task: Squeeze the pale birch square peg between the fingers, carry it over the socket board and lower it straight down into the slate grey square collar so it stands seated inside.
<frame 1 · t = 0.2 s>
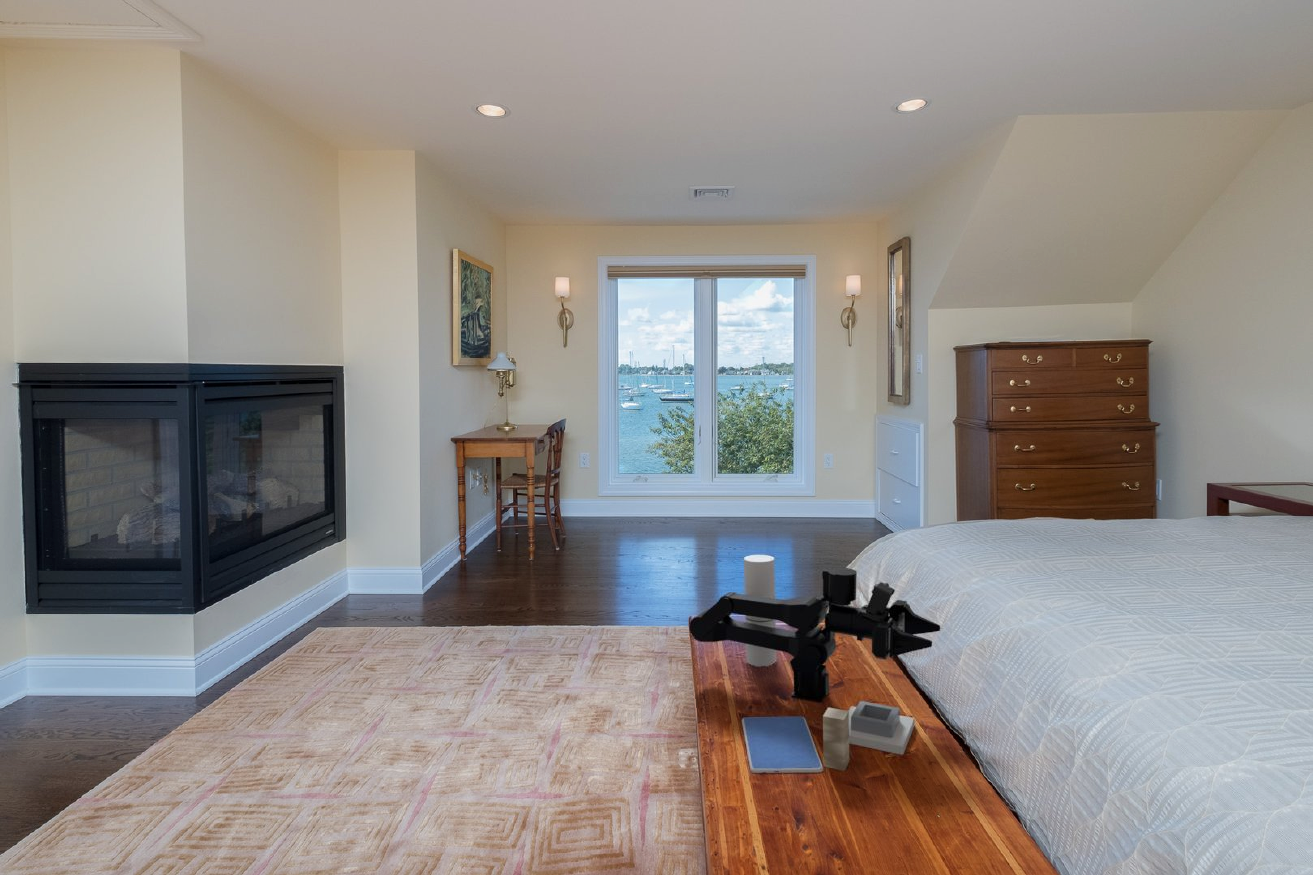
hand: (936, 635, 138), 17 cm above the table, tool horizontal, fingers open, 9 cm apart
cylindrical container: (761, 661, 171), on the table
peg: (836, 763, 124), on the table
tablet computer: (779, 748, 132), on the table
socket board: (875, 732, 135), on the table
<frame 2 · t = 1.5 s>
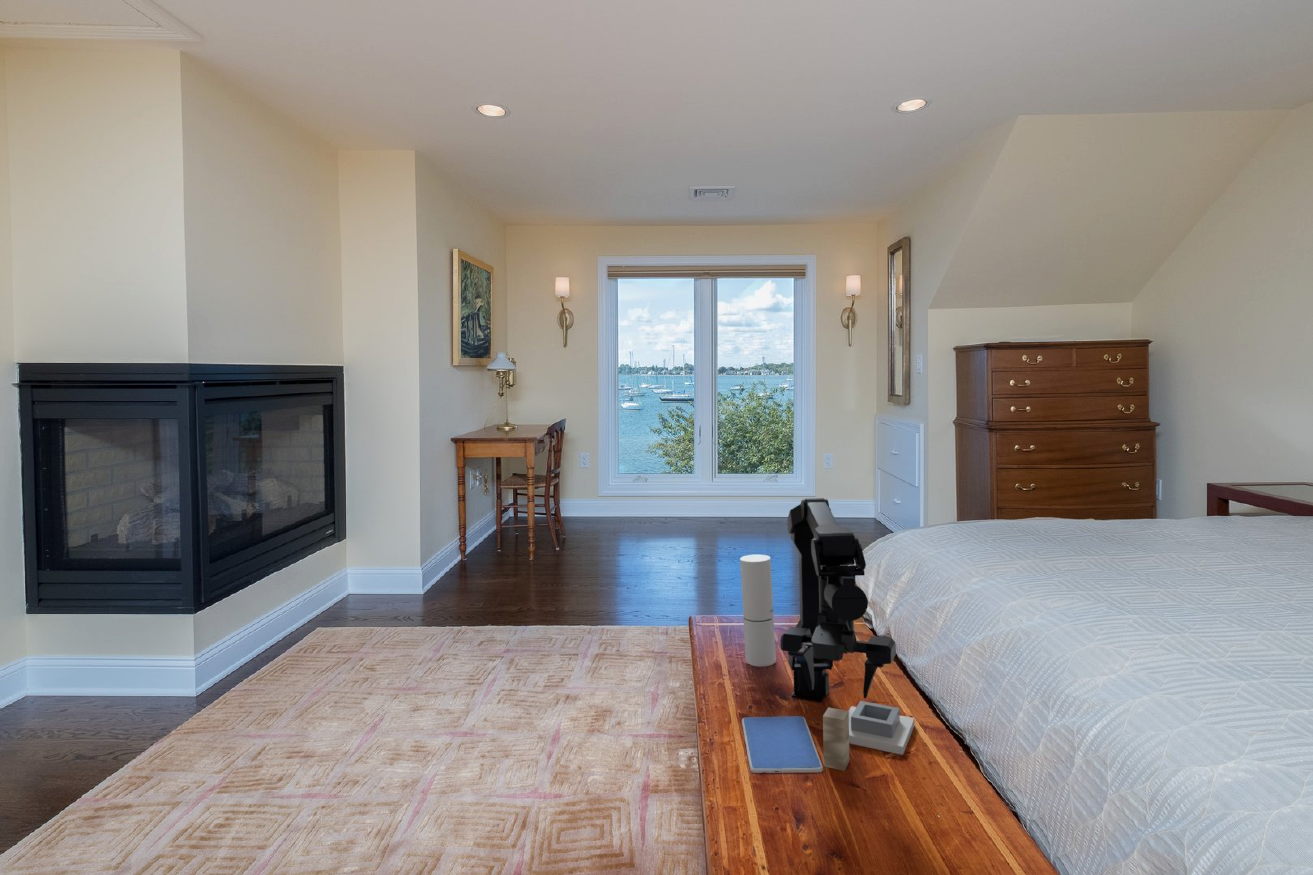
hand: (838, 693, 123), 13 cm above the table, tool pointing down, fingers open, 9 cm apart
nothing on the table moved.
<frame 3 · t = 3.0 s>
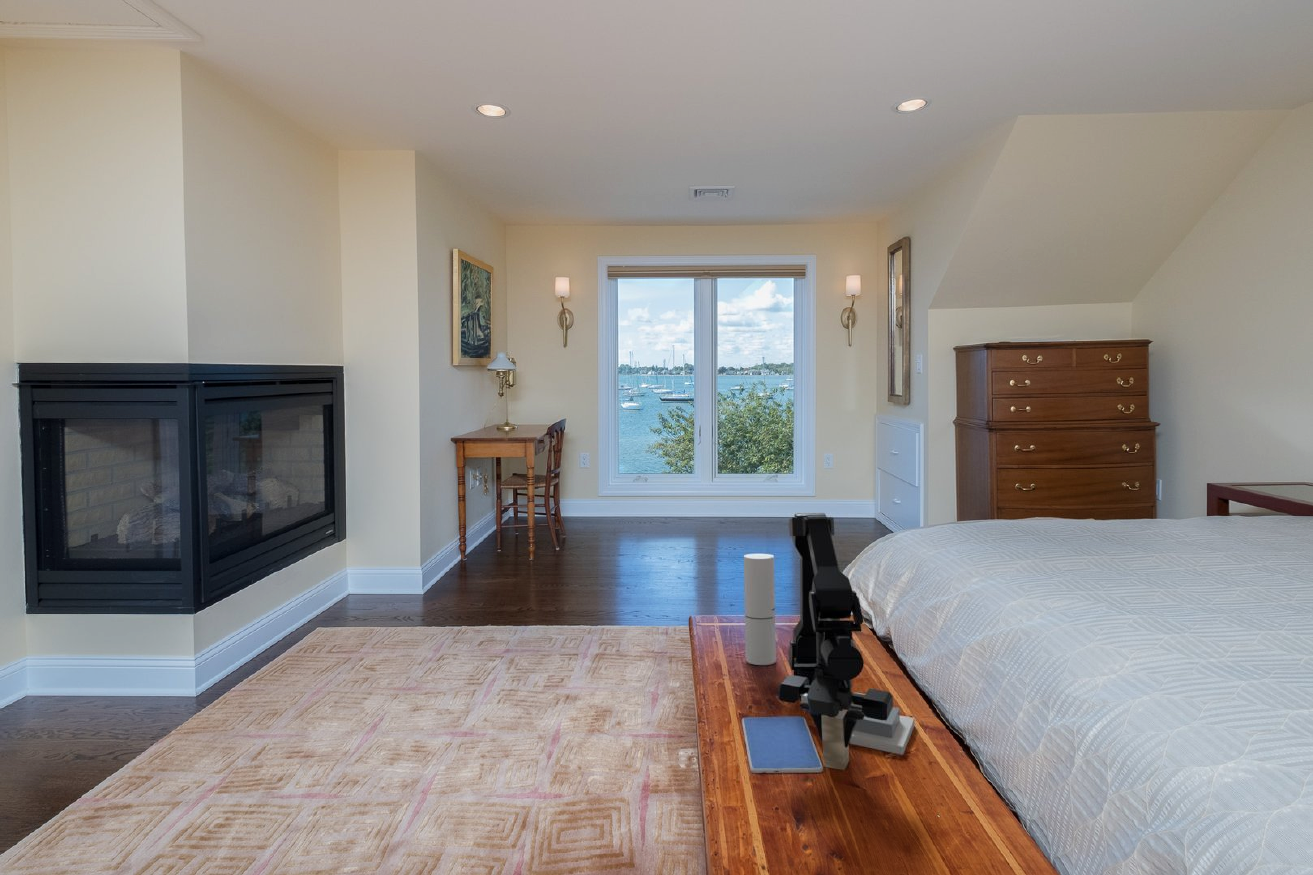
hand: (835, 743, 124), 4 cm above the table, tool pointing down, fingers closed on peg, 4 cm apart
peg: (836, 763, 124), on the table, touching gripper
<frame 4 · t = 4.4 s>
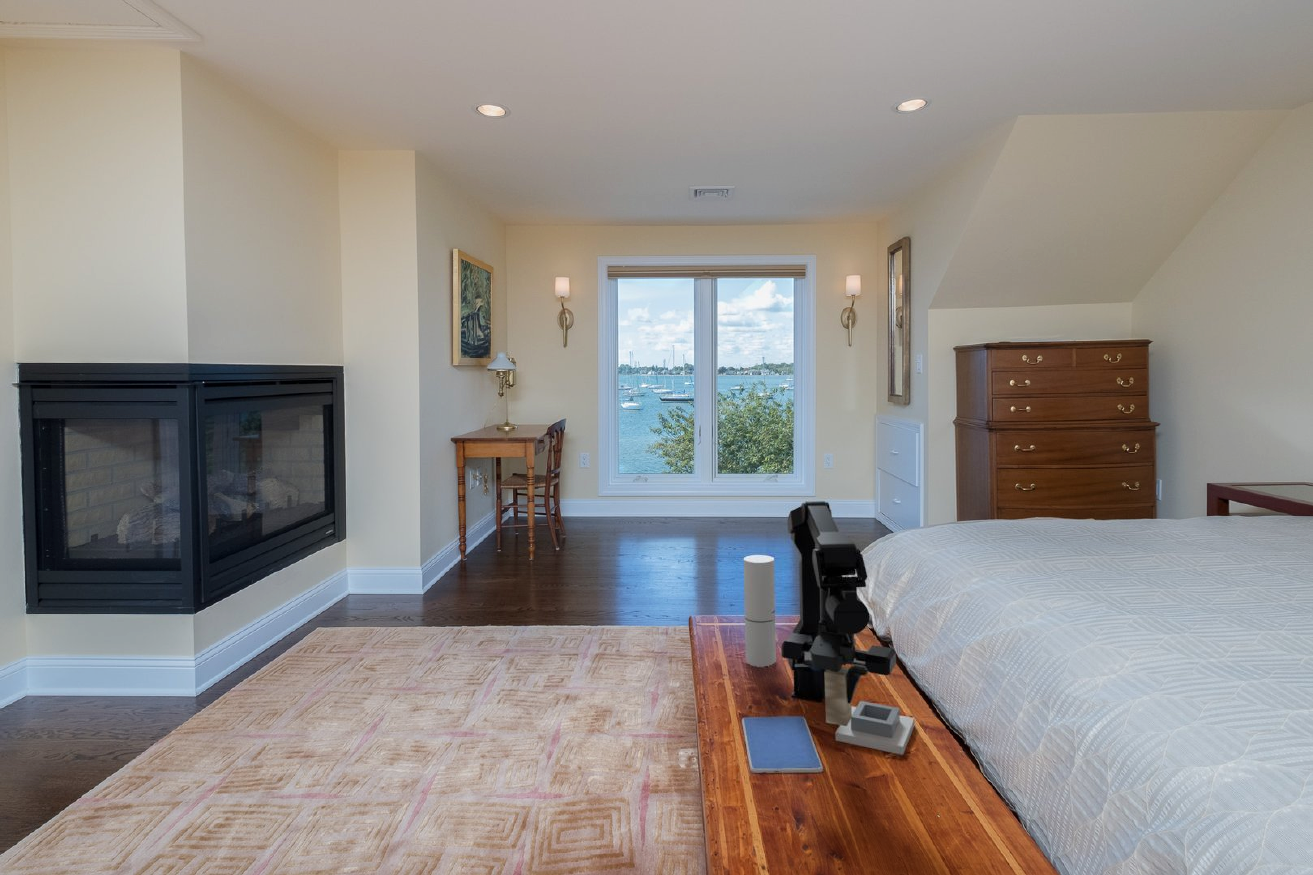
hand: (838, 700, 125), 11 cm above the table, tool pointing down, fingers closed on peg, 4 cm apart
peg: (838, 719, 125), point 7 cm above the table, touching gripper
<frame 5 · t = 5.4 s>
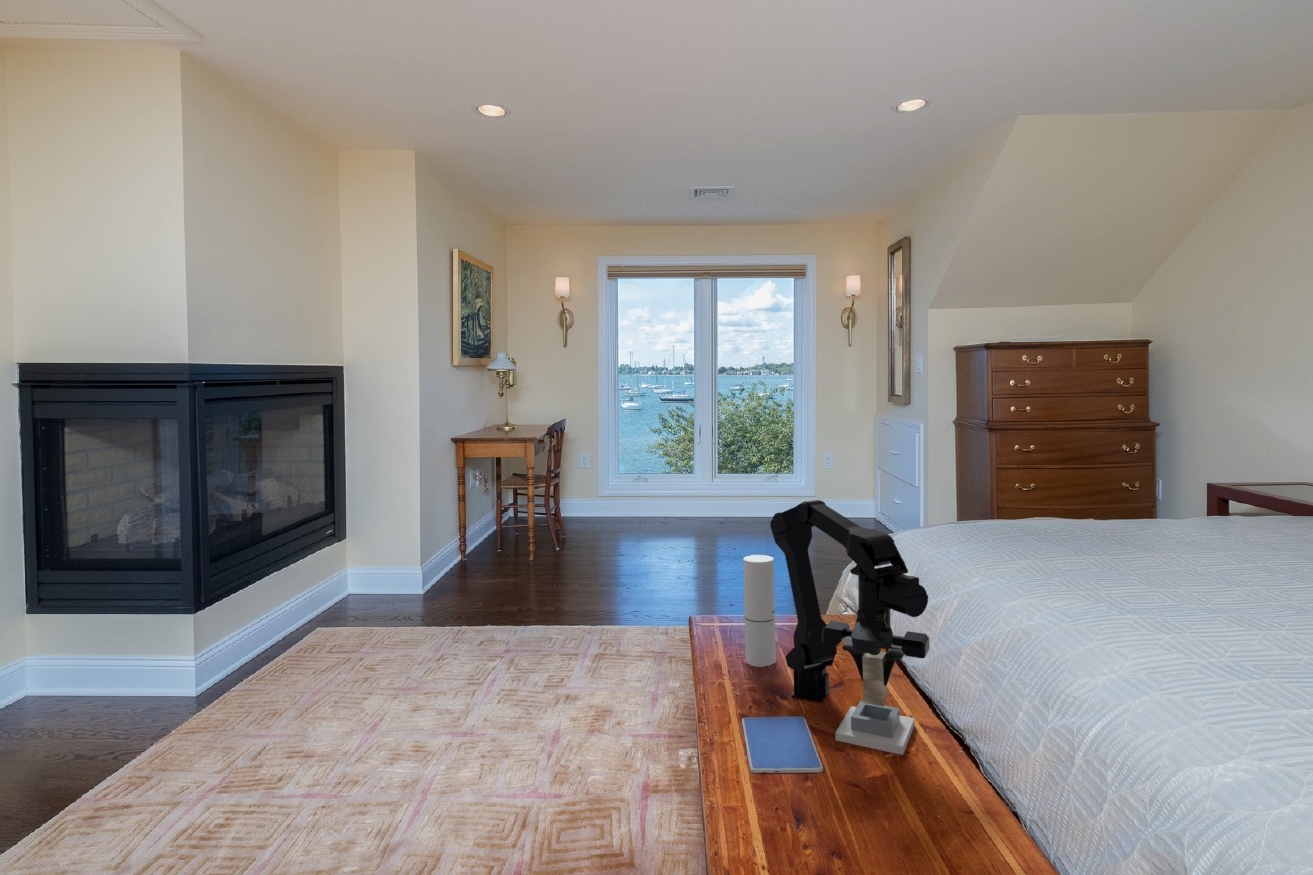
hand: (874, 682, 134), 10 cm above the table, tool pointing down, fingers closed on peg, 4 cm apart
peg: (875, 700, 134), point 6 cm above the table, touching gripper
everything else where it was.
when the fingers open (5 cm above the table, at t = 6.7 s): peg stays where it is, resting on socket board.
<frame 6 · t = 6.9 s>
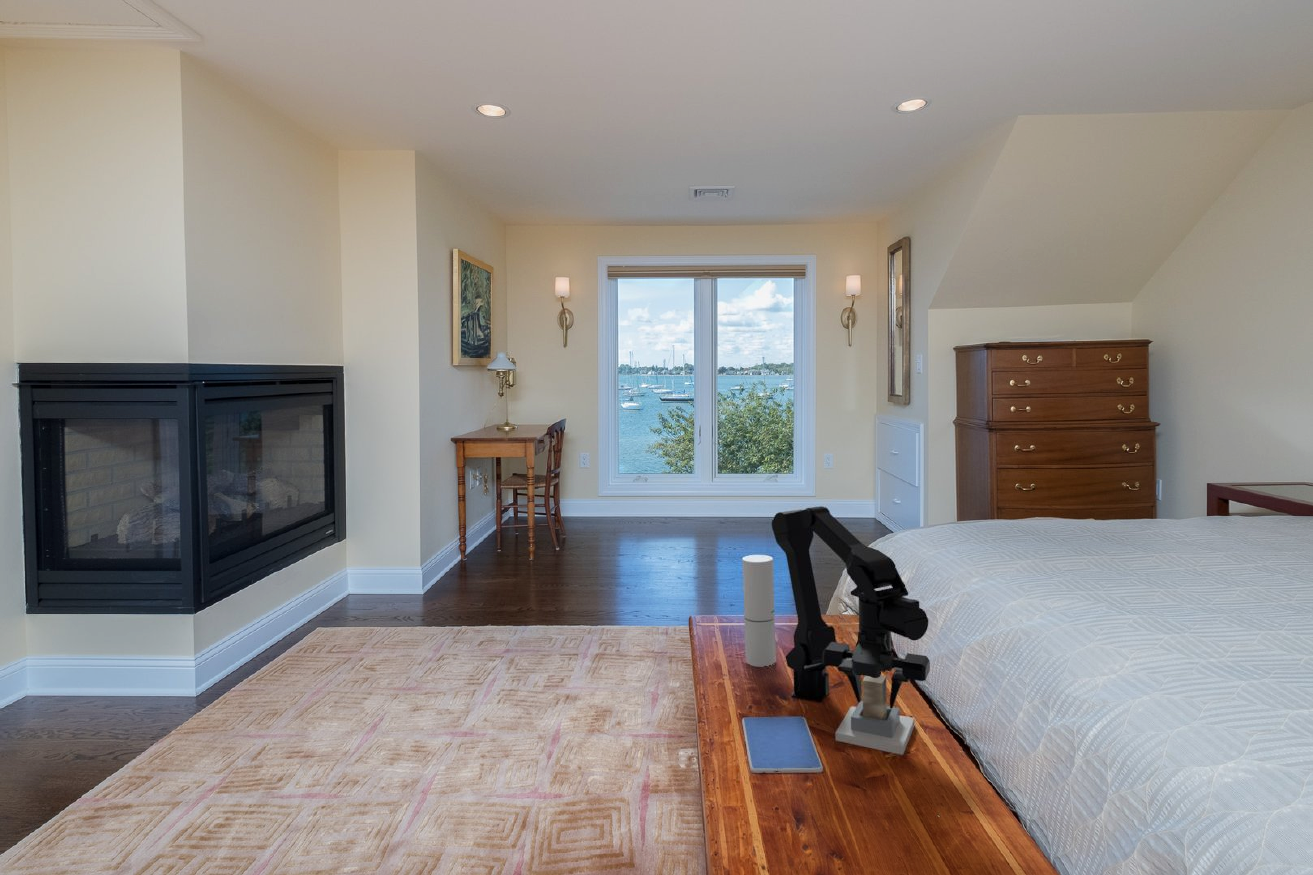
hand: (875, 704, 134), 5 cm above the table, tool pointing down, fingers open, 6 cm apart
peg: (875, 724, 135), point 2 cm above the table, touching socket board
everything else where it was.
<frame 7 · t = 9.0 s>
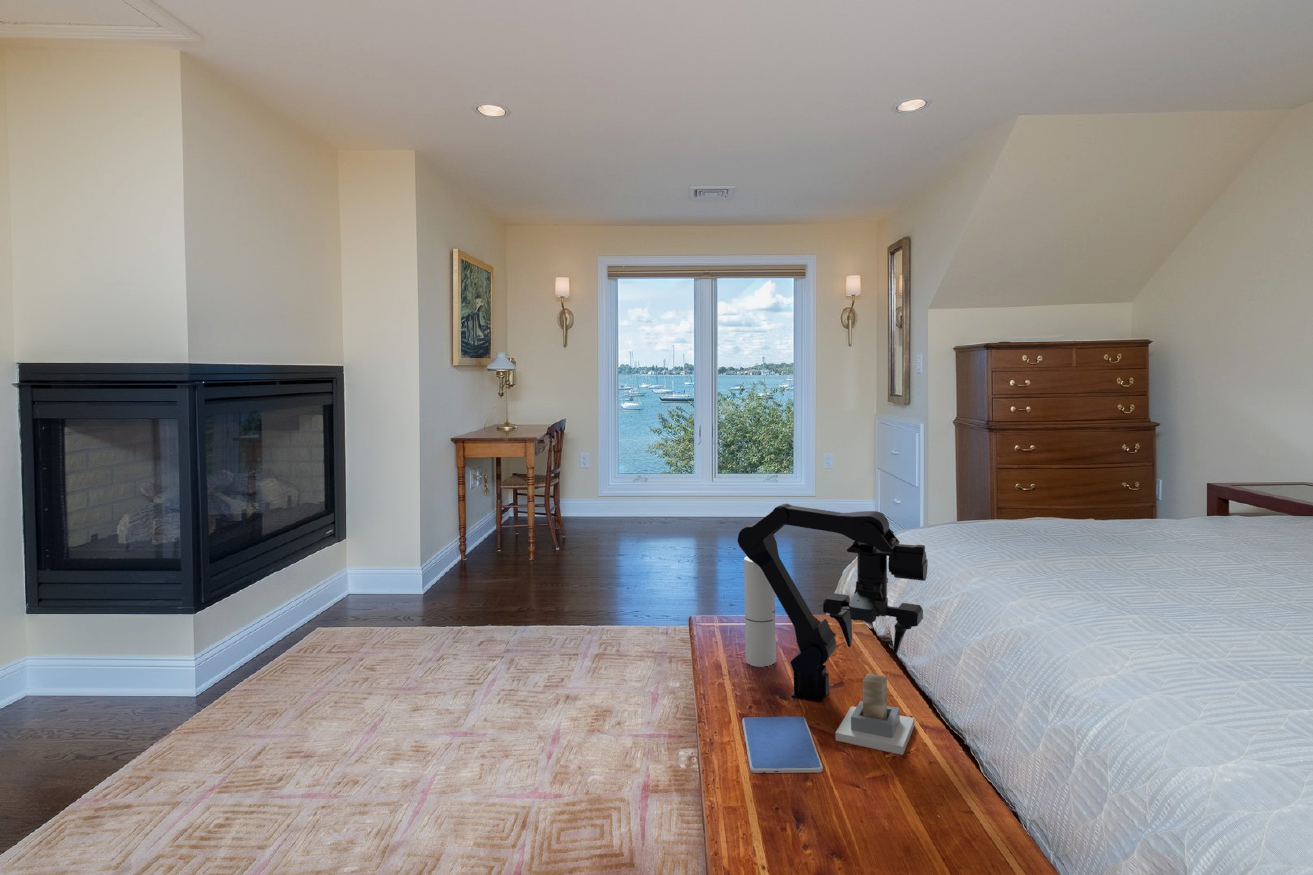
hand: (872, 650, 145), 12 cm above the table, tool pointing down, fingers open, 9 cm apart
nothing on the table moved.
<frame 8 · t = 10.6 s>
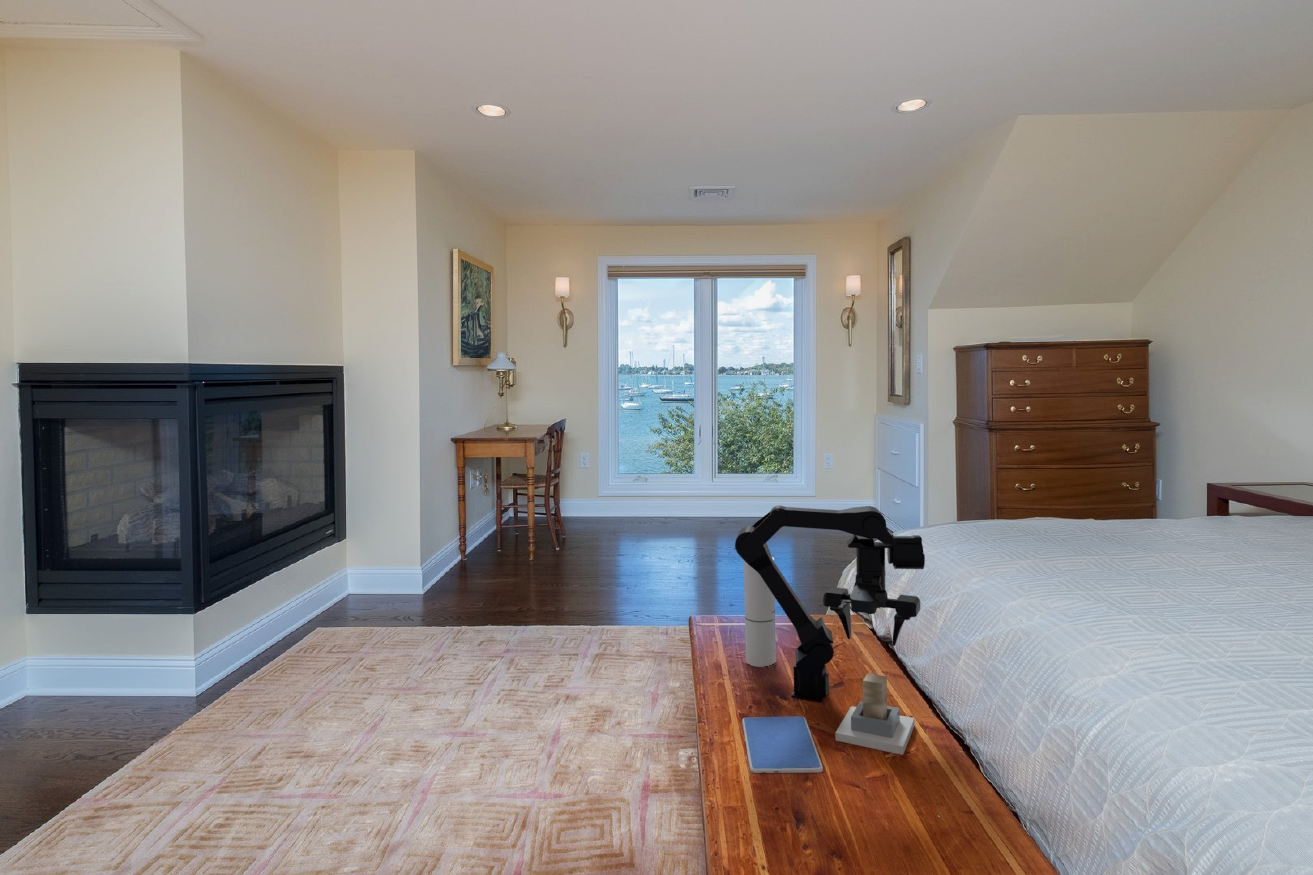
hand: (871, 641, 149), 12 cm above the table, tool pointing down, fingers open, 9 cm apart
nothing on the table moved.
at the end: peg 0.2 cm from the socket board (horizontally); peg point 1.5 cm above the table; the gripper is holding nothing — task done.
